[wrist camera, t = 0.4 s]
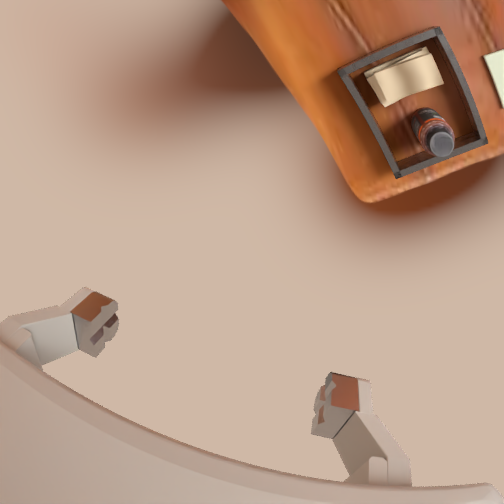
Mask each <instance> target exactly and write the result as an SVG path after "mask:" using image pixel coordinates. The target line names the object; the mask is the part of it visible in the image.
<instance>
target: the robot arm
mask: <svg viewBox="0 0 504 504" xmlns="http://www.w3.org/2000/svg"><path fill="white" fill-rule="evenodd" d="M117 310H118V303H117V302H116V301H115V300H112V299H111V298H109V297H106V296H104V295H102V294H100V293H98V292H95V291H93V290H91V289H89V288H86V287H84V288H82V289H80V290H79V291H78V292H77V293H76V294H74V295H73V296H72V297H71V298H70V299H68V300H67V301H66V302H65V303H63V304H62V305H61V306H60V307H59V306H53V307H48V308H44V309H39V310H35V311H30V312H26V313H21V314H17V315H12V316H8V317H7V318H6V319H5V320H3V321H2V322H1V323H0V504H504V497H503V496H502V495H501V494H500V493H499V491H498V490H497V489H496V488H495V487H494V486H493V485H492V484H489V483H477V484H467V485H454V486H435V487H434V486H432V487H412V482H411V469H410V459H409V458H408V456H407V455H406V454H405V452H404V451H403V450H402V448H401V447H400V446H399V444H398V443H397V442H396V440H395V439H394V438H393V436H392V435H391V434H390V432H389V431H388V430H387V428H386V427H385V426H384V424H383V423H382V421H381V420H380V419H379V417H378V416H377V415H374V414H373V406H372V395H371V383H370V381H369V380H366V379H361V378H355V377H351V376H346V375H342V374H338V373H333V372H330V373H329V374H328V376H327V377H326V381H325V385H324V386H321V388H320V390H319V392H318V394H317V396H316V399H315V404H314V411H315V413H316V415H315V417H314V418H313V421H312V430H311V434H313V435H317V436H322V437H326V438H331V439H333V442H334V444H335V446H336V448H337V450H338V452H339V454H340V456H341V459H342V461H343V463H344V465H345V467H346V469H347V471H348V473H349V475H350V477H348V478H347V479H346V480H345V481H344V482H338V481H331V480H324V479H318V478H312V477H306V476H301V475H295V474H290V473H286V472H281V471H276V470H272V469H268V468H264V467H260V466H255V465H252V464H248V463H244V462H241V461H237V460H234V459H230V458H227V457H224V456H220V455H218V454H214V453H211V452H208V451H205V450H202V449H199V448H196V447H193V446H191V445H188V444H186V443H183V442H180V441H178V440H175V439H173V438H170V437H168V436H165V435H163V434H160V433H158V432H155V431H153V430H151V429H148V428H146V427H144V426H142V425H139V424H137V423H135V422H133V421H131V420H129V419H127V418H124V417H122V416H120V415H118V414H116V413H114V412H112V411H110V410H108V409H107V408H104V407H103V406H101V405H99V404H97V403H95V402H93V401H91V400H90V399H88V398H86V397H84V396H83V395H81V394H79V393H77V392H76V391H74V390H72V389H71V388H69V387H67V386H66V385H64V384H62V383H61V382H59V381H57V380H56V379H54V378H53V377H51V376H50V375H48V374H47V373H45V372H43V369H42V365H44V364H46V363H49V362H51V361H54V360H56V359H58V358H61V357H63V356H66V355H68V354H71V353H73V352H75V351H78V349H79V350H81V351H83V352H85V353H87V354H89V355H91V356H93V357H97V356H98V355H99V353H100V352H101V351H102V350H103V349H104V348H105V342H107V341H110V340H112V338H113V337H114V336H115V334H116V332H117V330H118V324H119V323H118V321H119V319H118V317H117V316H116V314H115V312H116V311H117Z"/></svg>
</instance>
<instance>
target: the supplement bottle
mask: <svg viewBox="0 0 504 504" xmlns="http://www.w3.org/2000/svg"><path fill="white" fill-rule="evenodd" d="M411 126H412V129H413V131H414V133H415V135H416V137H417V138H418V140H419V142H420V144H421V145H422V147H423V149H424V150H425V151H426V152H428V153H429V154H431V155H434V156H438V157H446V156H448V155H450V154H451V152H452V151H453V149H454V140H455V137H454V133H453V130H452V129H451V127H450V126H449V124H448V123H447V122H446V121H445V120H444V119H443V118H442V117H441V116H440V115H439V114H438V113H437V112H436V111H435V110H433V109H431V108H421V109H418V110H417V111H416V112H415V113H414V114H413V116H412V119H411Z"/></svg>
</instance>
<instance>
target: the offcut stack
mask: <svg viewBox="0 0 504 504" xmlns="http://www.w3.org/2000/svg"><path fill="white" fill-rule="evenodd" d="M364 74H365V76H366V79H367V81H368V82H369V84H370V85H371V87H372V88H373V90H374V91H375V93H376V95H377V97H378V99H379V101H380V102H381V104H383V105H384V107H386V106H388V105H390V104H392V103H394V102H396V101H398V100H400V99H402V98H404V97H406V96H409V95H412V94H415V93H417V92H420V91H423V90H426V89H429V88H432V87H435V86H439V85H442V84H444V82H443V80H442V77H441V75H440V72H439V70H438V68H437V65H436V63H435V61H434V59H433V56H432V54H431V53H429V51H428V49H427V47H426V46H423V47H420V48H418V49H415V50H413V51H410V52H408V53H405V54H403V55H400V56H398V57H396V58H393V59H391V60H389V61H386V62H384V63H382V64H380V65H377V66H375V67H373V68H371V69H369V70H366V71H364Z"/></svg>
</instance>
